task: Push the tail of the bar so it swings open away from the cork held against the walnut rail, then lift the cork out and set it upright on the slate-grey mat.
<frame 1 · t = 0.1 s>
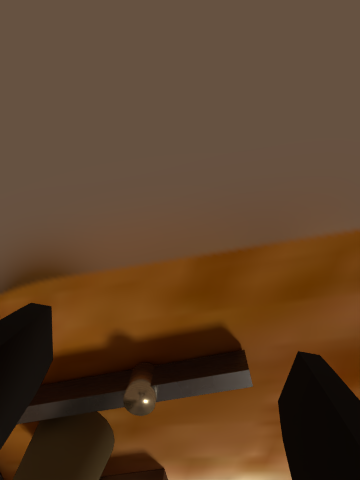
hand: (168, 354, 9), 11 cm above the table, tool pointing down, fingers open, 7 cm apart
bar: (107, 393, 20), point 2 cm above the table, hinge at 0.0°
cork: (76, 434, 23), on the table
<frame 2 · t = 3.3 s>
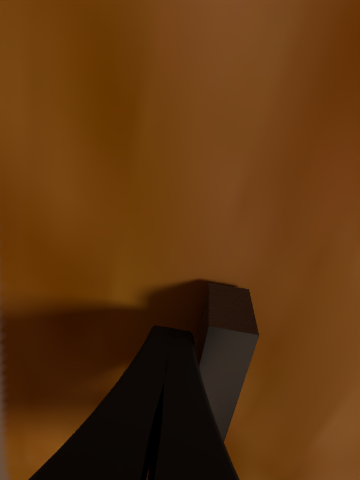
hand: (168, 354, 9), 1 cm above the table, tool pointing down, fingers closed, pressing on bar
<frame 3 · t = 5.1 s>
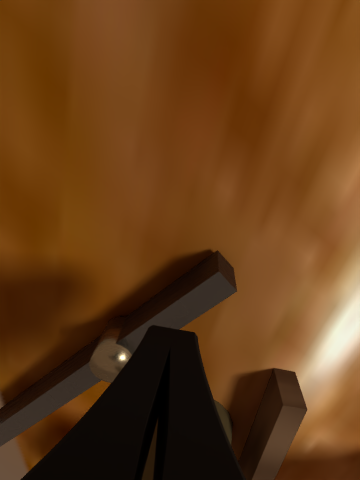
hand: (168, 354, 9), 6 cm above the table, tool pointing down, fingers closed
bar: (85, 369, 16), point 2 cm above the table, hinge at 39.9°
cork: (185, 421, 20), on the table
rail: (257, 438, 19), on the table
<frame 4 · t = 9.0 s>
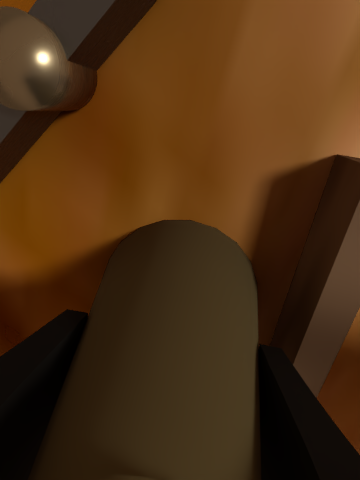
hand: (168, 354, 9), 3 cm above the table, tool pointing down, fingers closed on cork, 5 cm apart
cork: (180, 288, 12), on the table, touching gripper
rail: (297, 312, 12), on the table
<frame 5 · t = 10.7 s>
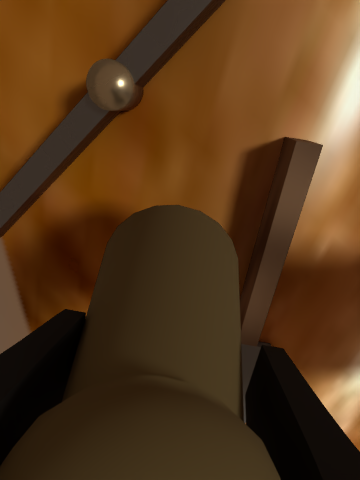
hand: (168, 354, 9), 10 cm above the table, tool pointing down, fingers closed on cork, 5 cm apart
bar: (82, 125, 15), point 2 cm above the table, hinge at 40.0°
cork: (171, 267, 14), point 5 cm above the table, touching gripper
mat: (179, 394, 24), on the table
rail: (266, 241, 18), on the table
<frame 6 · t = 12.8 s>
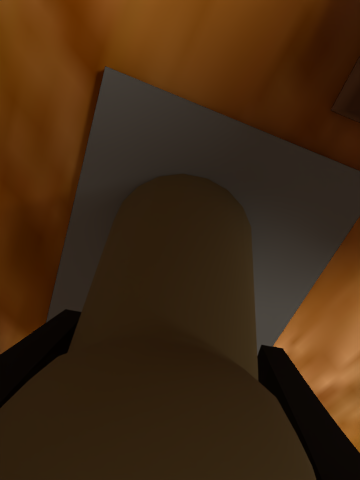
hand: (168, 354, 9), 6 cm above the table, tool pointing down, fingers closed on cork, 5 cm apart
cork: (181, 241, 13), resting on mat, touching gripper
mat: (185, 264, 14), on the table
when the fingers open (5 cm above the table, at t = 13.4 s): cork stays where it is, resting on mat.
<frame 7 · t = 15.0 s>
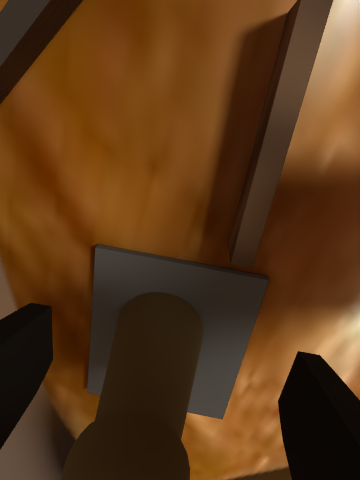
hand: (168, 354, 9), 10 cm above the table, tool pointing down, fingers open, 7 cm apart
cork: (160, 327, 21), resting on mat
mat: (167, 338, 22), on the table
rail: (264, 148, 16), on the table
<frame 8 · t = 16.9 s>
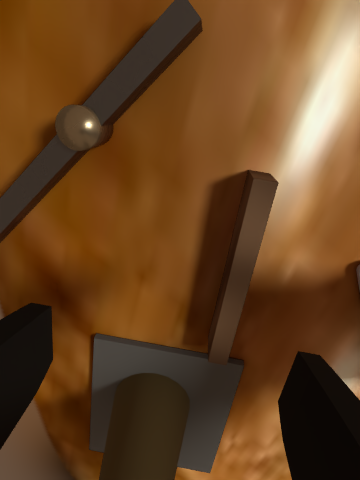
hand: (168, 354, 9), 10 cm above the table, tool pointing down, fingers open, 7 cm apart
bar: (55, 160, 16), point 2 cm above the table, hinge at 40.0°
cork: (152, 398, 24), resting on mat
mat: (158, 406, 25), on the table
rail: (235, 265, 19), on the table
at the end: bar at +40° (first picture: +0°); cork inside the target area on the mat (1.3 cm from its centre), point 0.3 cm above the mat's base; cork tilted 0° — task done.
